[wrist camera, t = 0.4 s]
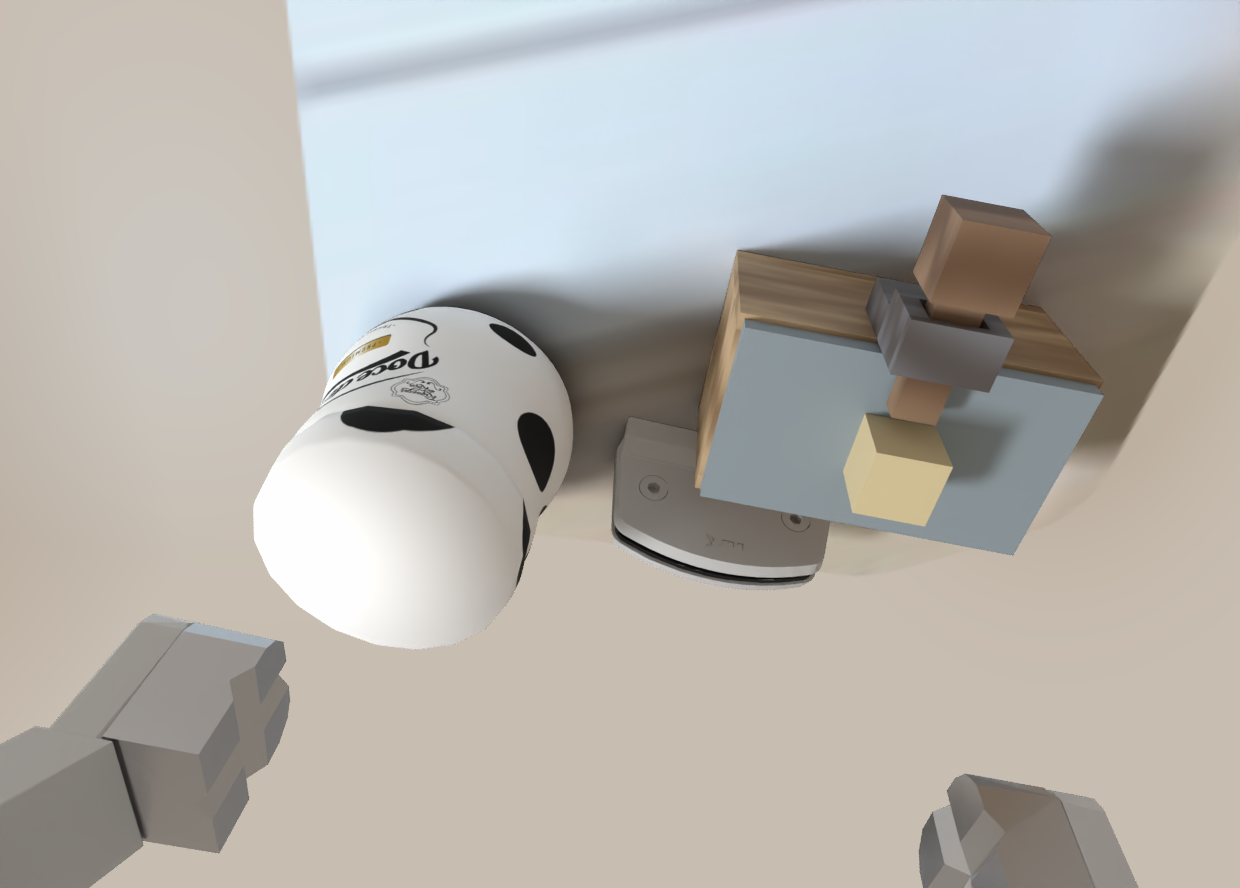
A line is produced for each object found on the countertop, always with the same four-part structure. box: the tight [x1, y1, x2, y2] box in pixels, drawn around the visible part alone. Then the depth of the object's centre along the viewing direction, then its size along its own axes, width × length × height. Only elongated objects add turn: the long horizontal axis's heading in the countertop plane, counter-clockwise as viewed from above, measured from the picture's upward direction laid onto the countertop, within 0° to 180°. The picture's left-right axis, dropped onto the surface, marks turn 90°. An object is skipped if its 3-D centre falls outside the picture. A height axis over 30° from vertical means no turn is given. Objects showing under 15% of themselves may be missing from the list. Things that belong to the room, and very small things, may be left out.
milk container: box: [253, 307, 573, 650], centre depth 53 cm, size 17×17×18 cm
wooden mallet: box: [886, 195, 1052, 426], centre depth 40 cm, size 11×4×4 cm, turn 171°
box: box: [695, 250, 1103, 488], centre depth 48 cm, size 15×20×14 cm
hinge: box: [611, 417, 830, 590], centre depth 58 cm, size 17×5×10 cm, turn 79°
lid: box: [700, 319, 1104, 555], centre depth 45 cm, size 11×19×6 cm, turn 81°
